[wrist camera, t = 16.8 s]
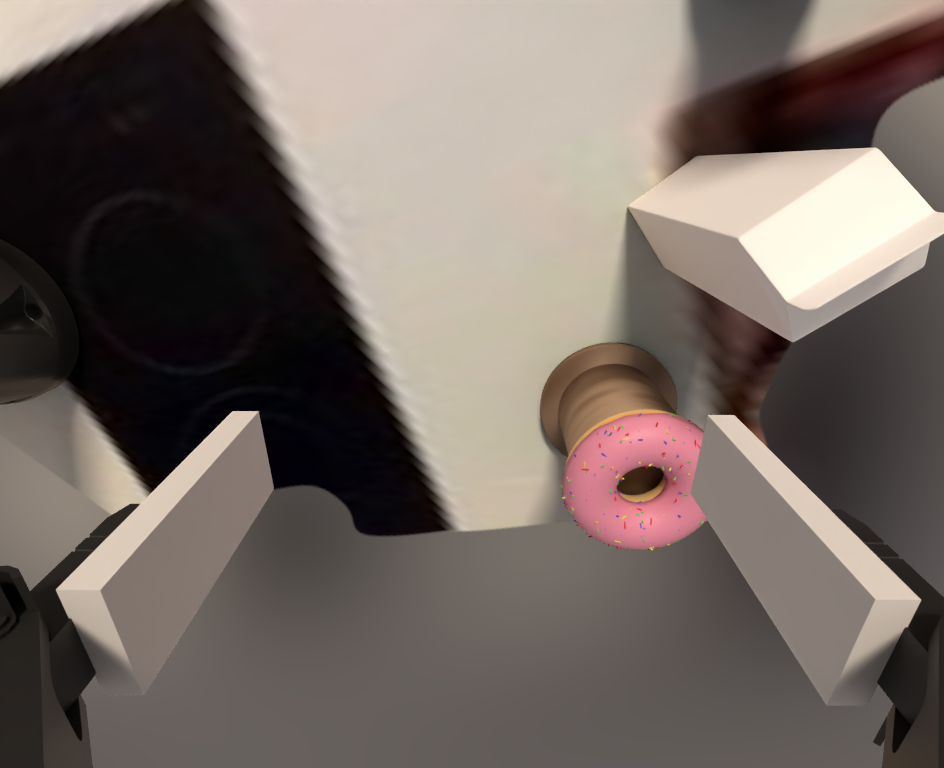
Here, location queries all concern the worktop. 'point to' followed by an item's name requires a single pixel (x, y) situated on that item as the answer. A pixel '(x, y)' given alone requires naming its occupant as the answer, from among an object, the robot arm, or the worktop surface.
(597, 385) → the brown flanged cylinder
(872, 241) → the milk
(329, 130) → the worktop surface
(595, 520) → the doughnut
